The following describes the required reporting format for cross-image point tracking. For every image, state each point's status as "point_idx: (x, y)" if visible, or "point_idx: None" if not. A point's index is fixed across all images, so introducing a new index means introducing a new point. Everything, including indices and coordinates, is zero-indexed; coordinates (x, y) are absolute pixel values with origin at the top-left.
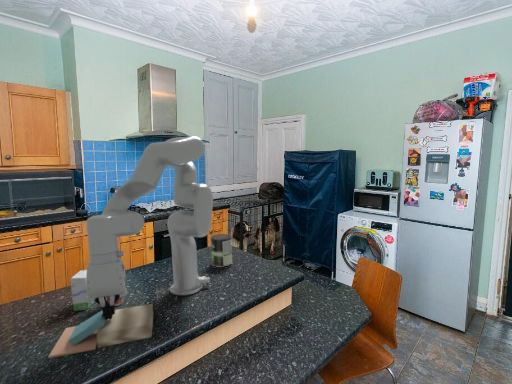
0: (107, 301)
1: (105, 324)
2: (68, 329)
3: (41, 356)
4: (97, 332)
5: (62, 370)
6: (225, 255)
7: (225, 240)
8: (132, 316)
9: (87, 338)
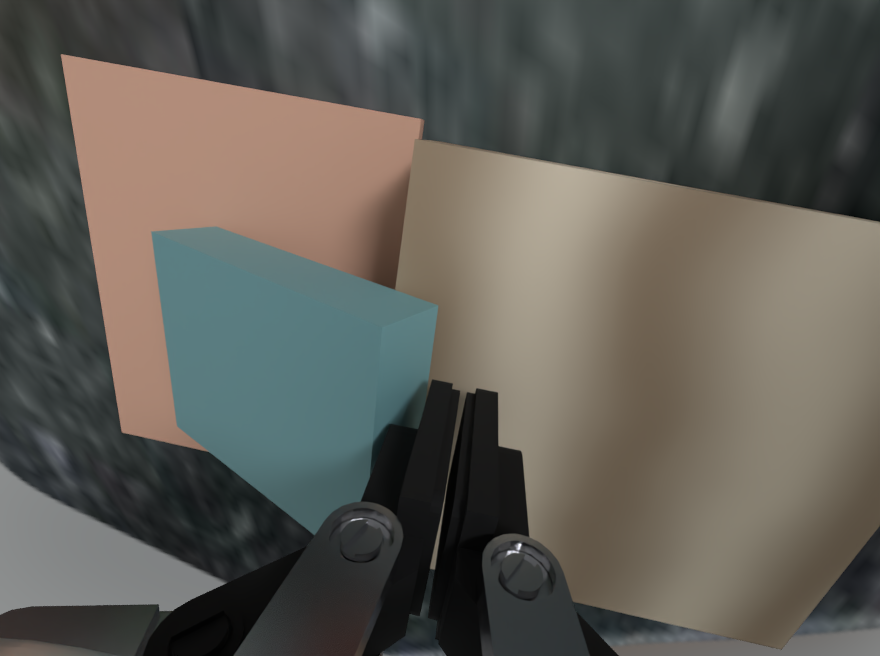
0: (416, 572)
1: None
2: (100, 107)
3: (80, 380)
4: None
5: (245, 550)
6: None
7: None
8: (688, 453)
9: None
